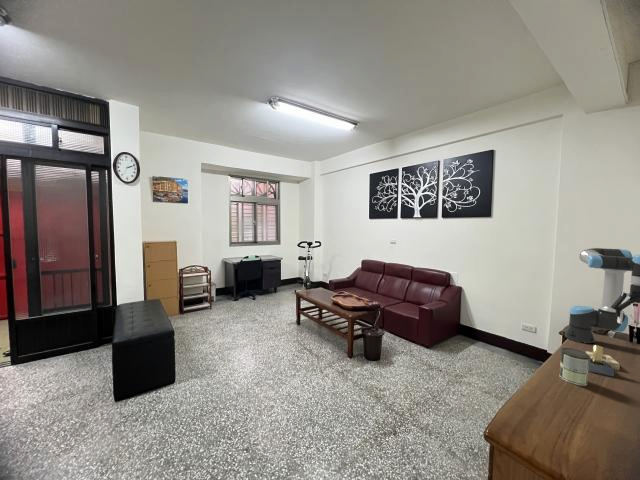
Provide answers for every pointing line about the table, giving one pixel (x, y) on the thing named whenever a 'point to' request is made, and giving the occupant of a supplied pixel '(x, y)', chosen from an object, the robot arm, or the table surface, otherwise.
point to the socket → (601, 368)
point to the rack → (607, 360)
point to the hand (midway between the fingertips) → (638, 325)
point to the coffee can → (574, 366)
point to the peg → (597, 354)
